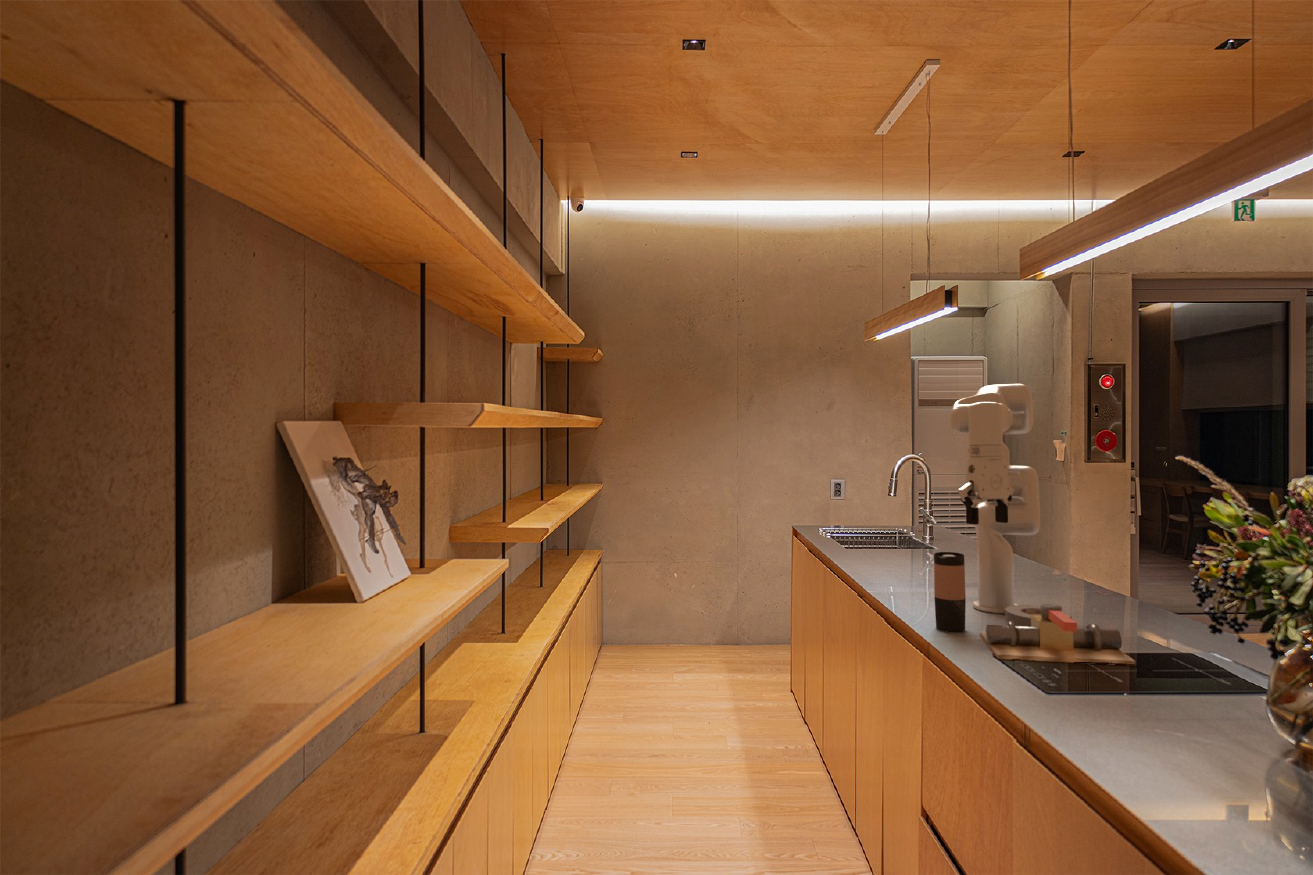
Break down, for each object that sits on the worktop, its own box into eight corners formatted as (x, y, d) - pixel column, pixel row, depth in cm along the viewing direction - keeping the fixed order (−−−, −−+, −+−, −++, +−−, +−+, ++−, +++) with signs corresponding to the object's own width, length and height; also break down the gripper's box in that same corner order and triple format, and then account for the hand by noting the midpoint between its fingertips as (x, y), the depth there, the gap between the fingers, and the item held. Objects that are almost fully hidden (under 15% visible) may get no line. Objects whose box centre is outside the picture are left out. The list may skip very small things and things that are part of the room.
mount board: (997, 658, 159) (997, 654, 159) (980, 636, 177) (979, 632, 177) (1135, 665, 153) (1135, 660, 153) (1102, 641, 170) (1102, 637, 170)
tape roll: (1074, 628, 184) (1074, 608, 184) (1068, 642, 171) (1068, 622, 171) (1010, 620, 193) (1010, 601, 193) (1000, 633, 180) (999, 613, 180)
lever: (1038, 614, 168) (1038, 603, 168) (1058, 615, 167) (1058, 604, 167) (1059, 631, 153) (1059, 620, 153) (1081, 632, 152) (1081, 620, 152)
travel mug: (960, 625, 187) (959, 551, 188) (970, 633, 180) (968, 556, 180) (931, 625, 188) (929, 551, 188) (940, 633, 181) (938, 556, 181)
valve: (992, 651, 165) (991, 619, 165) (985, 642, 171) (984, 612, 172) (1124, 657, 158) (1123, 624, 158) (1111, 648, 165) (1111, 617, 165)
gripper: (972, 452, 162) (973, 526, 161) (1024, 452, 168) (1026, 523, 168) (947, 453, 169) (948, 523, 168) (998, 452, 175) (999, 520, 175)
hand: (987, 523), depth 168 cm, fingers open, 9 cm apart
